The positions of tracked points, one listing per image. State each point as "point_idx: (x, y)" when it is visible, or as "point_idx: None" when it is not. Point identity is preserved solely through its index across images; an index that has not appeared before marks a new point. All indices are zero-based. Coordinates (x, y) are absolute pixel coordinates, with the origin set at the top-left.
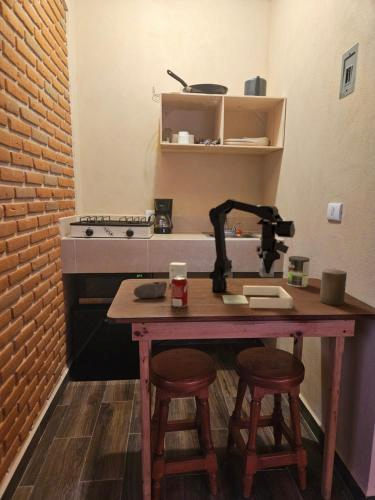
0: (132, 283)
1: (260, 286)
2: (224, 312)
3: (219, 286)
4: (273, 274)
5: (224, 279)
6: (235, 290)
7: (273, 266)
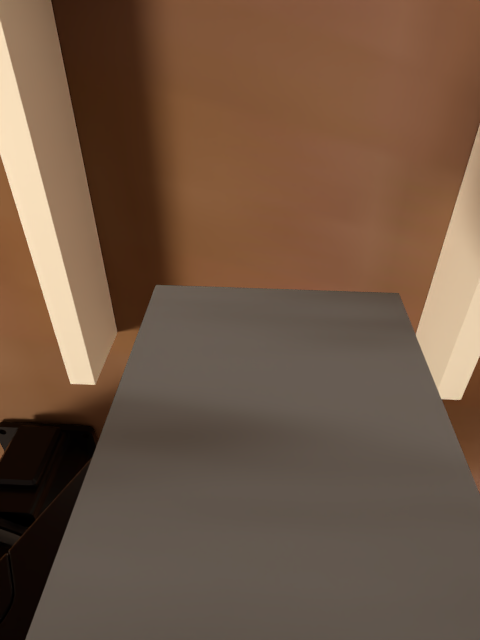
0: None
1: (49, 238)
2: (477, 472)
3: None
4: (412, 330)
5: (36, 515)
6: (11, 363)
7: (477, 511)
